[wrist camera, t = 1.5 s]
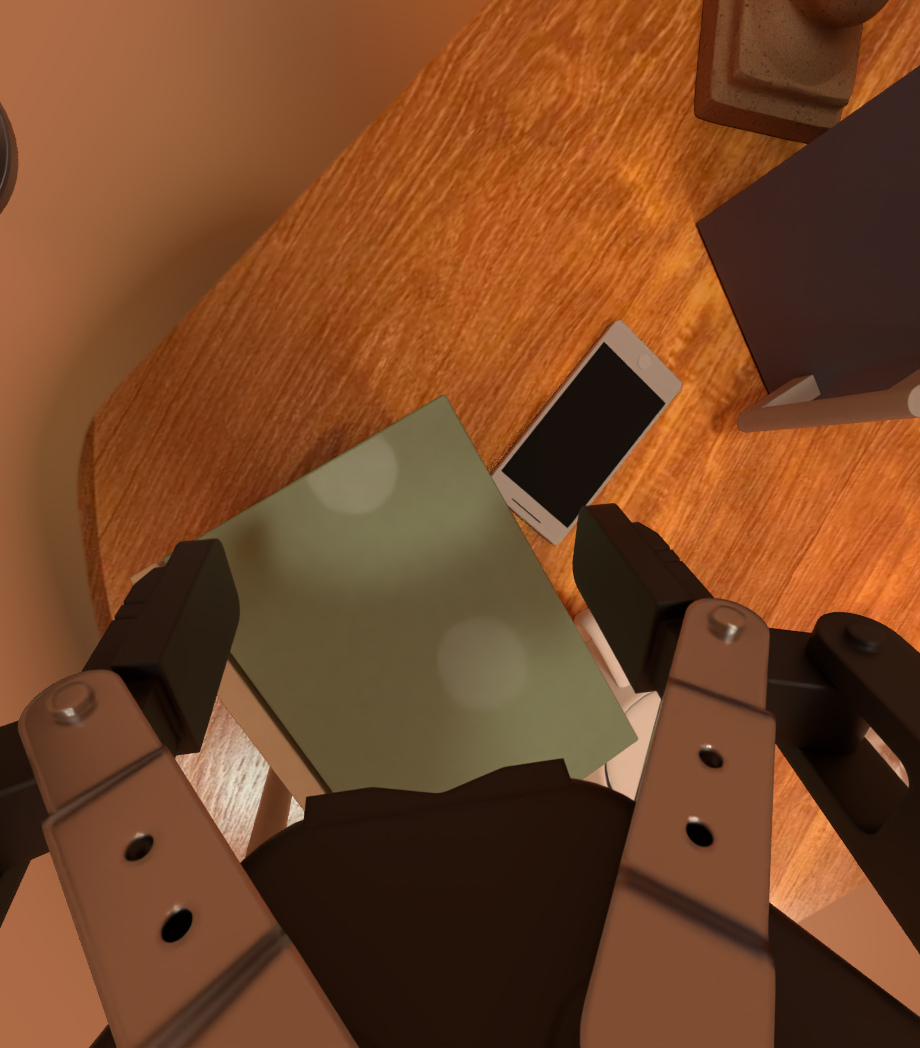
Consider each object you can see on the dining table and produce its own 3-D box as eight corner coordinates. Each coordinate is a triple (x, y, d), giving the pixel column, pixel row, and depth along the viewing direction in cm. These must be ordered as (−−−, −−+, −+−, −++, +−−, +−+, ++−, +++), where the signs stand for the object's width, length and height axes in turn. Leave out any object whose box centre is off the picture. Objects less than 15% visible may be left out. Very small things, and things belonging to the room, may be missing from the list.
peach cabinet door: (297, 757, 37) (251, 1014, 20) (159, 569, 34) (-43, 677, 16) (381, 703, 38) (406, 903, 20) (253, 514, 34) (155, 562, 17)
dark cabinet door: (721, 452, 41) (988, 441, 24) (632, 259, 38) (868, 86, 21) (787, 409, 42) (1093, 368, 25) (706, 216, 39) (992, 15, 21)
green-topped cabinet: (384, 700, 38) (412, 902, 20) (257, 512, 35) (160, 559, 17) (510, 617, 39) (640, 739, 22) (399, 429, 36) (445, 393, 18)
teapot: (474, 639, 39) (520, 702, 28) (625, 544, 40) (721, 571, 30) (601, 856, 43) (682, 982, 32) (733, 763, 45) (850, 854, 34)
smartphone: (678, 386, 40) (685, 384, 39) (552, 545, 39) (557, 547, 38) (612, 320, 38) (619, 316, 37) (481, 485, 37) (484, 485, 36)
